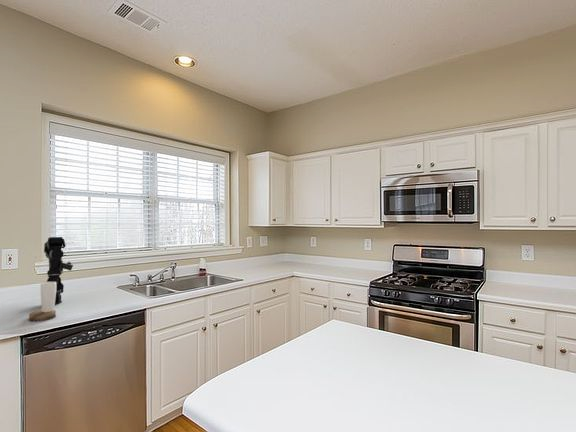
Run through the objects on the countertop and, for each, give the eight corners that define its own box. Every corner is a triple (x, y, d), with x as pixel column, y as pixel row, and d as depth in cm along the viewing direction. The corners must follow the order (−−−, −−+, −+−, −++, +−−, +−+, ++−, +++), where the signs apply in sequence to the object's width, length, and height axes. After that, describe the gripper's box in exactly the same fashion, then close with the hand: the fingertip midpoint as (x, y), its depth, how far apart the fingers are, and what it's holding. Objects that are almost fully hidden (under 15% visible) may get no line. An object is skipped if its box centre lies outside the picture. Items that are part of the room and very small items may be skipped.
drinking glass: (50, 309, 175) (50, 281, 175) (59, 310, 172) (59, 282, 172) (36, 312, 168) (37, 283, 168) (45, 313, 166) (46, 284, 166)
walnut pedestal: (23, 321, 163) (23, 315, 163) (37, 315, 173) (37, 309, 174) (47, 321, 164) (47, 315, 164) (60, 314, 175) (60, 309, 175)
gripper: (71, 258, 185) (71, 286, 184) (73, 257, 200) (72, 282, 200) (47, 259, 179) (47, 288, 178) (50, 258, 195) (50, 284, 194)
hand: (55, 285), depth 187 cm, fingers open, 9 cm apart
